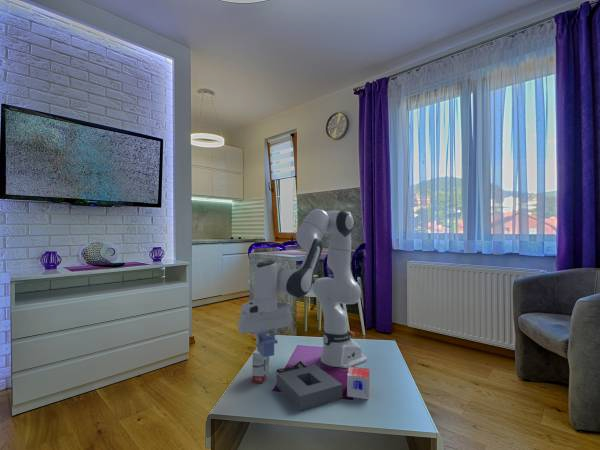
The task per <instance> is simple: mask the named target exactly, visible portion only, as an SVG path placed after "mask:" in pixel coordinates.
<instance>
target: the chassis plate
mask: <svg viewBox="0 0 600 450" xmlns="http://www.w3.org/2000/svg"><path fill="white" fill-rule="evenodd" d="M276 388H277V389H279V390H280V392H281V393H282V394H283V395H284V396H285V397H286V398H287V399H288V400H289V402H290V403H291V404H292V406H294V407H295V408H296V409H297V410H298V411H299V412H301V411H304V410H307V409H311V408H315V407H318V406H320V405H324V404H327V403H331V402H334V401H337V400H341V399H343V384H342V383H341V382H340V381H338V379H335V378H334V377H333V376H331V374H329V373H327V372H326V371H325V370H324V369H322V368H321V367H319V366H318V365H316V364H312V365H309V366H306V367H304V368H300V369H296V370H291V371H287V372H283V373H278V372H277V373H276Z"/></svg>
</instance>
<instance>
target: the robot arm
mask: <svg viewBox="0 0 600 450" xmlns="http://www.w3.org/2000/svg"><path fill="white" fill-rule="evenodd" d="M354 227H355V218H354V216H353V214H352V213H351V212H350V211H347V210H326V211H325V210H323V209H320V208H314V209H313V210H311V211H310V212H309V213H308V214H307V215H306V217H305V218H303V220H302V222H301V223H300V225H299V226H298V229H296V233H295V239H296V242H297V245H299V246H300V247H301V249H302V250H305V251H306V253H305V255H304V257H303V260H302V263H301V266H300V267H299V268H297V269H294V268H293V269H292V268H286V267H283V266H281V265H279V264H278V263H277V262H276V261H274V260H262V261H261V262H258V263H257V264H256V266H255V268H254V276H253V286H254V295H253V299H251V300H250V301H247V302H245V303H243V304H241V306H240V307H241V309H240V310H241V312H240V314H239V316H238V317H239V318H238V331H239V332H240V333H241V334H242V335H246V334H253V336H254V338H255V343H256V345H257V344H258V343H261V338H260V337H258V334H259V332H260V331H271V330H272V333H271V334H272V335H274V338H275V339H276V335H277V334H278V332H279V329H283V328H289V327H290V326H291V325H292V316H291V310H292V309H291V304H290V303H288V302H286V301H283V302H278V296H279V295H278V293H282V294H284V295H290V296H293V297H295V298H297V299H298V298H299V299H300V298H303V297H305V296H306V295H308V294H309V292H310V291H311V288H312V291H313V293H314V295H315V297H316V298H317V300H318V301H319V303H320V305H321V309H322V313H323V325H324V326H323V328H324V329H323V331H322V332H323V334H322V340H323V346H322V351H321V357H320V362H321V363H322V364H324V365H326V366H329V367H334V368H335V367H336V368H343V369H349V366H350V367H355V366H357V365H359V364H361V363H364V362H366V361H367V356H366V355H365V354H363V352H362V347H361V346H360V344H359V343H358V342H356V341H355V340H353V339H352V338H351V337H355V332H353V331H351V330H350V331H349V330H348V314H347V312H346V311H345V310H344V309H343V308H342V306H341V304H342V305H355V304H357V303H358V302H359V300H361V299H360V298H361V296H362V290H361V287H360V285H359V284H358V282H356V279H355V278H354V276H353V274H352V273H353V272H352V269H351V260H352V259H351V258H352V257H351V256H352V235H351V232H352V231H353V229H354ZM325 235H329V236H330V237H329V242H328V247H327V248H328V250H327V258H326V259H327V261H326V264H327V265H326V266H327V267H328V269H330V271H332V273H333V277H327V276H324V277H319V278H318V277H317V278H316V280H315V281H314V282H313V280H314V276H315V273H316V269H317V266H318V265H319V264H318V263H319V262H320V258H321V255H322V252H323V246H324V245H323V243H322V239H323V238H324V236H325ZM312 284H313V285H312Z"/></svg>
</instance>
